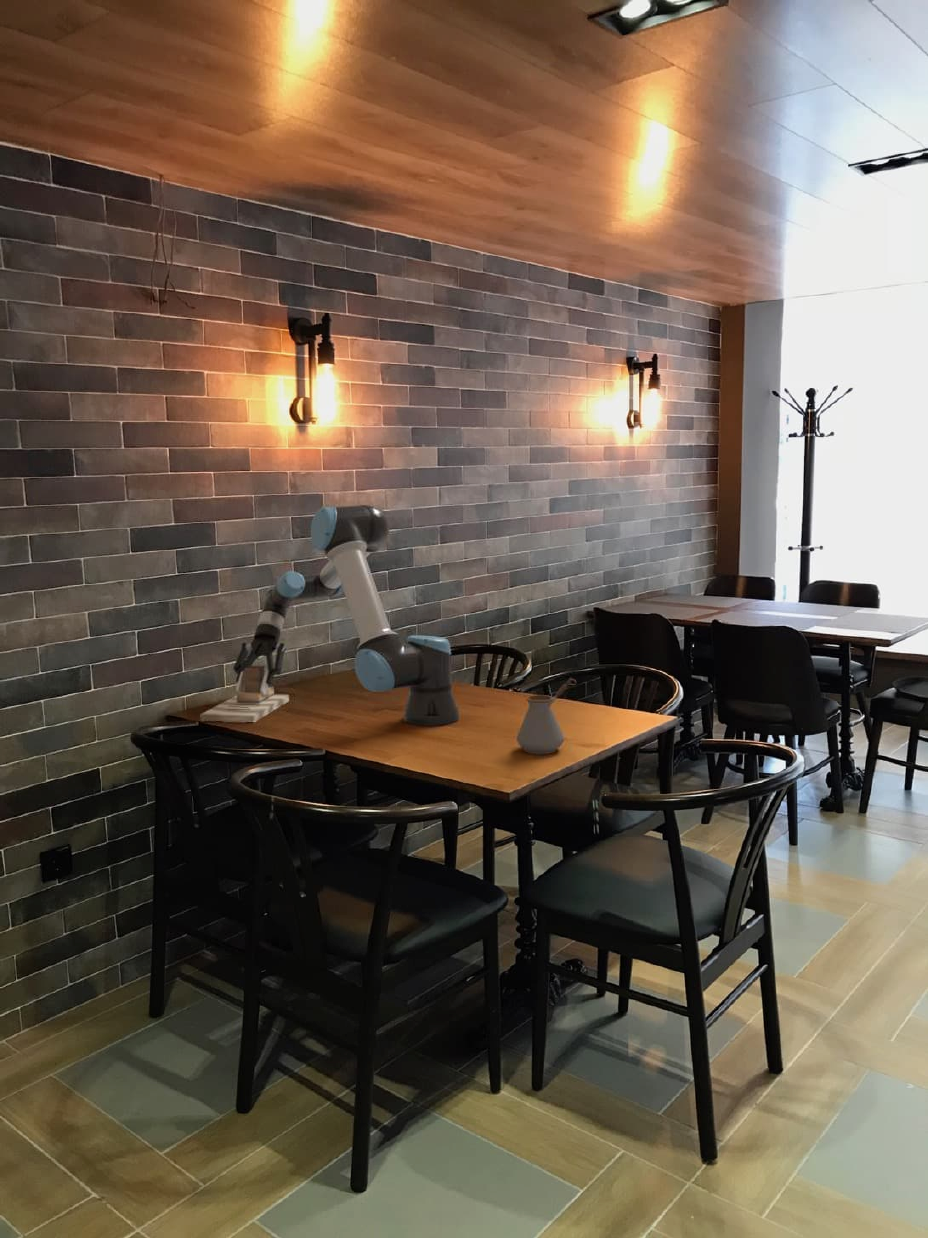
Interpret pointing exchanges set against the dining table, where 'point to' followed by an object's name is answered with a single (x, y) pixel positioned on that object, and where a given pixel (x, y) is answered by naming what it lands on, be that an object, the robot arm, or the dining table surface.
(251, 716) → the birch board
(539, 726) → the coffee pot
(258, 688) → the sanding block
